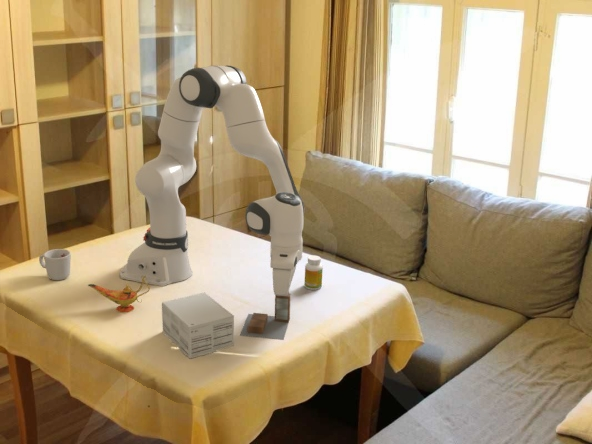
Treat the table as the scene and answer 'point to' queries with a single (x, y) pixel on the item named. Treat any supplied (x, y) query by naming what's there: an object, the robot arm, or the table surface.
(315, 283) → the supplement bottle
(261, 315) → the left walnut tile
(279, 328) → the slate rubber mat
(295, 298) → the table surface
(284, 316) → the right walnut tile
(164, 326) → the supplement box
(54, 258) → the cup
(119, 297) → the magic lamp
